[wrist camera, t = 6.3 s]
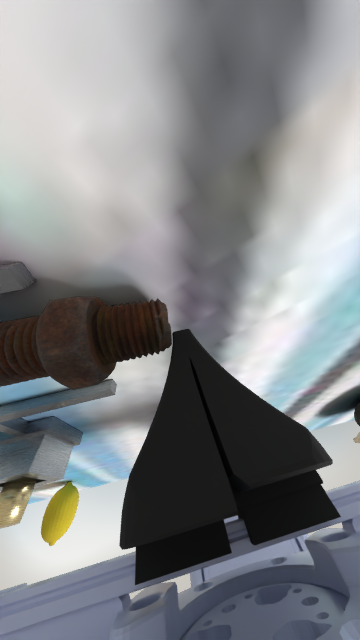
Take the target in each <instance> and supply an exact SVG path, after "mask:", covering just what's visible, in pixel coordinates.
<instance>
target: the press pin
mask: <svg viewBox="0 0 360 640" xmlns="http://www.w3.org/2000/svg"><path fill="white" fill-rule="evenodd" d="M36 481H37V479H35V478H28V477H23V478H20V479H16V480H12V481H8V482H5V484H4V486H3V488H2V490H1V492H0V528H4V527H9V526H12V525H16V524H18V523H20V521H21V519H22V516H23V514H24V511H25V509H26V506H27V504H28V501H29V499H30V496H31V494H32V491H33V489H34V486H35V484H36Z"/></svg>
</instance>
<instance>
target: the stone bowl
mask: <svg viewBox="0 0 360 640" xmlns="http://www.w3.org/2000/svg"><path fill="white" fill-rule="evenodd" d="M354 418H355V421H356V422H357V424H358V425H359V426H360V403H359V404H358V405H357V406H356V408H355V412H354ZM353 440H354V441H355V442H356V443H360V432H359V433H358V436H357V437H356V438H354V439H353Z"/></svg>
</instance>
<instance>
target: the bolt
mask: <svg viewBox="0 0 360 640" xmlns="http://www.w3.org/2000/svg"><path fill="white" fill-rule="evenodd" d="M171 345H172V338H171V327H170V324H169V323H168V314H167V308H166V305H165V304H164V303H162V302H161V301H160V300H159V299H157V300H156V301H155V302H154V301H153V300H152V299H151V301H150V302H148V301H147V300H146V301H145V302H144V304H143V303H142V302H141V301H140V302H139V303H138V305H137V304H136V303H135V302H133V304H132V305H130V304H129V303H127V304H126V306H124V305H123V304H121V305H120V306H119V307H118V306H117V305H114V306H113V307H112V306H109V305H108V307H107V305H106V304H105V303H104V302H103V301H102V300H101V299H100V298H98V297H71V298H64V299H57V300H50V301H49V303H48V304H47V306H46V308H45V309H44V311H43V313H42V314H41V316H35V317H30V318H23V319H16V320H11V321H4V322H0V386H6V385H11V384H15V383H20V382H25V381H28V380H34V379H36V378H42V377H48V376H50V377H51V378H53V379H54V380H55V381H57V382H59V383H60V384H62V385H64V386H66V387H69V388H71V389H73V390H76V389H81V388H85V387H90V386H94V385H98V384H100V383H101V382H102V381H103V380H105V379H106V378H107V377H108V376H109V375H110V374H111V373H112V371H113V370H114V369H115V366H116V362H122V361H123V360H127V361H128V360H129V359H130V358H131V359H135V358H136V356H137V357H138V358H141V357H142V355H144V356H146V357H147V355H148V353H149V354H151V355H152V356H153V354H154V352H155V353H157V354H159V352H160V351H164V350H165V349H166V348H169V347H170V346H171Z"/></svg>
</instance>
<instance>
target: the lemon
mask: <svg viewBox="0 0 360 640" xmlns="http://www.w3.org/2000/svg"><path fill="white" fill-rule="evenodd" d="M78 501H79V493H78V490H77V488H76V487H75V486H73V485H72V483H71V482H68V483H67V484H66V485H65V486H64V487H63V488H61V489H60V490H59V491H57V493H56V494H55V495H54V496H53V497H52V499H51V501H50V502H49V504H48V506H47V508H46V511H45V514H44V517H43V521H42V528H41V535H42V538H43V539H44V541H45V542H47V543H49V545H50V546H52V545H54V544H55V542H56V541H57V540H58V539H60V538H61V537H62V536H63V535H64V533H65V532H66V531H67V530H68V528H69V527H70V525H71V523H72V521H73V519H74V516H75V513H76V510H77V506H78Z"/></svg>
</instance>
